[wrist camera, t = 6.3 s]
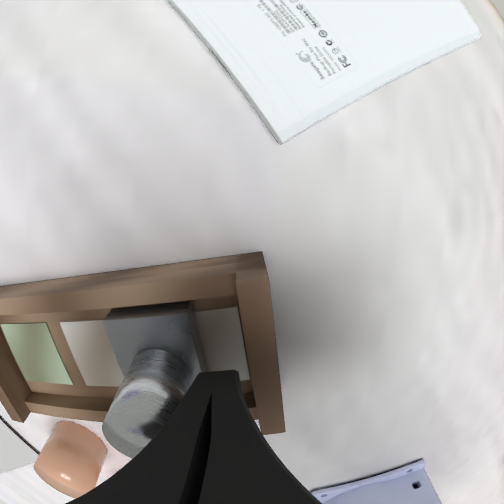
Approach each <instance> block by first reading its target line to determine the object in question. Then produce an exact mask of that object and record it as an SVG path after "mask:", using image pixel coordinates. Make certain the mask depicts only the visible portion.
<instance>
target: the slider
mask: <svg viewBox="0 0 504 504" xmlns="http://www.w3.org/2000/svg"><path fill="white" fill-rule="evenodd" d="M103 324H104V327H105V329H106V332H107V335H108V338H109V341H110V343H111V346H112V349H113V351H114V354H115V356H116V359H117V361H118V364H119V366H120V369H121V371H122V374H123V376H124V378H123V381H122V383H121V385H120V387H119V389H118V391H117V393H116V395H115V398H114V400H113V402H112V404H111V406H110V409H109V411H108V413H107V415H106V417H105V420H104V422H103V425H102V431H103V434H104V436H105V438H106V439H107V441H108V442H109V443H110V444H111V445H112V446H113V447H114V448H115V449H117V450H118V451H119V452H121V453H123V454H124V455H126V456H128V457H131V458H134V457H135V456H136V455H137V454H138V453H139V452H140V451H141V450H142V449H143V448H144V447H145V446H146V445H147V444H148V443H149V442H150V441H151V440H152V439H153V437H154V436H155V435H156V434H157V433H158V431H159V430H160V429H161V428H162V426H163V425H164V424H165V423H166V421H167V420H168V419H169V417H170V416H171V415H172V413H173V412H174V410H175V409H176V408H177V406H178V405H179V403H180V402H181V400H182V399H183V397H184V396H185V394H186V393H187V391H188V389H189V388H190V386H191V384H192V383H193V381H194V379H195V378H196V376H197V375H198V374H199V373H200V372H209V371H208V367H207V363H206V359H205V355H204V351H203V347H202V343H201V339H200V335H199V330H198V326H197V322H196V317H195V313H194V309H193V304H192V300H187V301H178V302H169V303H160V304H150V305H139V306H129V307H118V308H112V309H111V310H110V312H109V313H108V314H107V315H106V317H105V318H104V319H103Z"/></svg>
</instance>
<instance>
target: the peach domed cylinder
mask: <svg viewBox="0 0 504 504" xmlns="http://www.w3.org/2000/svg"><path fill="white" fill-rule="evenodd" d="M106 455H107V448H106V446H105V444H104V443H103V441H102V440H101V439H100V438H99V437H98V436H97V435H95V434H94V433H93V432H91V431H90V430H88V429H87V428H85V427H83V426H81V425H79V424H76V423H73V422H70V421H60V422H58V423H57V424H56V425H55V427H54V429H53V431H52V433H51V434H50V436H49V438H48V440H47V441H46V443H45V445H44V447H43V449H42V451H41V452H40V454H39V456H38V458H37V460H36V462H35V464H34V470H35V471H36V473H37V474H38V475H39V477H40V478H41V479H42V480H44V481H45V482H46V483H47V484H49V485H50V486H51V487H53V488H54V489H56V490H58V491H59V492H61V493H63V494H65V495H68V496H70V497H73V498H78V497H80V496H82V495H84V494H86V493H87V492H89V491H91V490H92V489H94V488H95V486H96V483H97V480H98V477H99V474H100V471H101V469H102V466H103V463H104V460H105V458H106Z"/></svg>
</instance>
